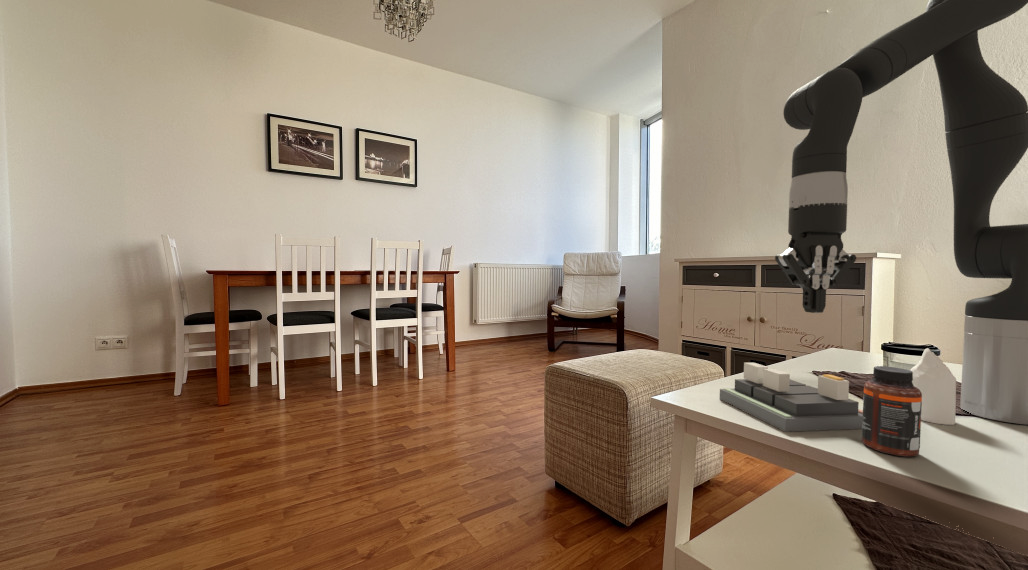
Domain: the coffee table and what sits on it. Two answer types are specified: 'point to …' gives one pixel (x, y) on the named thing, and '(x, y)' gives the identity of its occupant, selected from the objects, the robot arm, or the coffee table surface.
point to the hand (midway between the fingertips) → (813, 312)
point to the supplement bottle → (892, 412)
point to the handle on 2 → (776, 380)
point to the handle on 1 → (754, 372)
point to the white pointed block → (935, 389)
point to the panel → (795, 420)
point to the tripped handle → (833, 387)
